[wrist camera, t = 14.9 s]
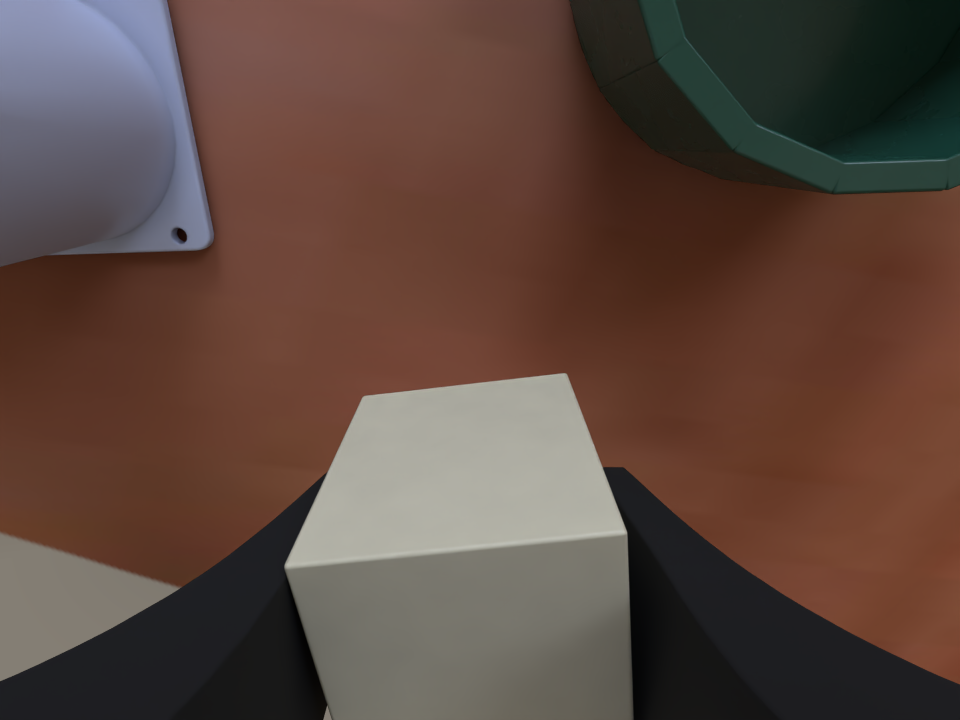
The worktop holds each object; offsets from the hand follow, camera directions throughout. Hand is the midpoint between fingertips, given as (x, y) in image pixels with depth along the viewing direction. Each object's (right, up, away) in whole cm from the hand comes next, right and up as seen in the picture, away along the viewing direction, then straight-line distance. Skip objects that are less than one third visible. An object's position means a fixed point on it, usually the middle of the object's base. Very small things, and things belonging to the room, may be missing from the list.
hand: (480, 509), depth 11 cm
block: (0, +1, +1) cm, 1 cm away
